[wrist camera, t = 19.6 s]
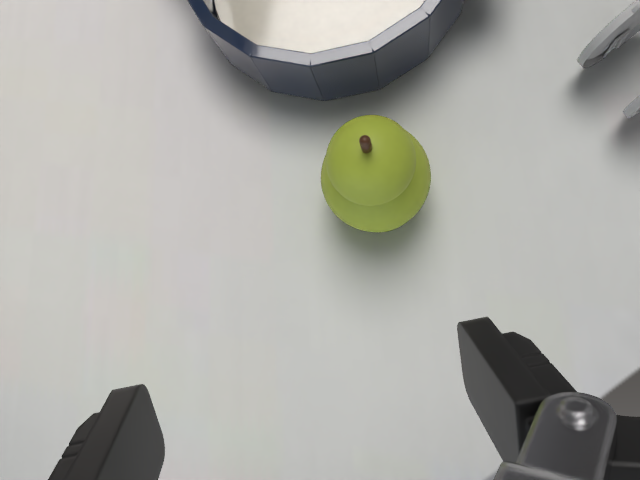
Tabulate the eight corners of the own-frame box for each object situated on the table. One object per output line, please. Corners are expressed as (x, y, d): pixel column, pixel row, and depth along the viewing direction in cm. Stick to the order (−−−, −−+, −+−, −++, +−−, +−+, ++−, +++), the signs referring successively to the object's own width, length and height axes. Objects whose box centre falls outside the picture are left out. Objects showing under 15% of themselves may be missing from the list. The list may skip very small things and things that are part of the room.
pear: (319, 226, 34) (280, 191, 24) (343, 133, 34) (315, 61, 24) (415, 249, 33) (416, 222, 23) (439, 153, 33) (450, 85, 23)
